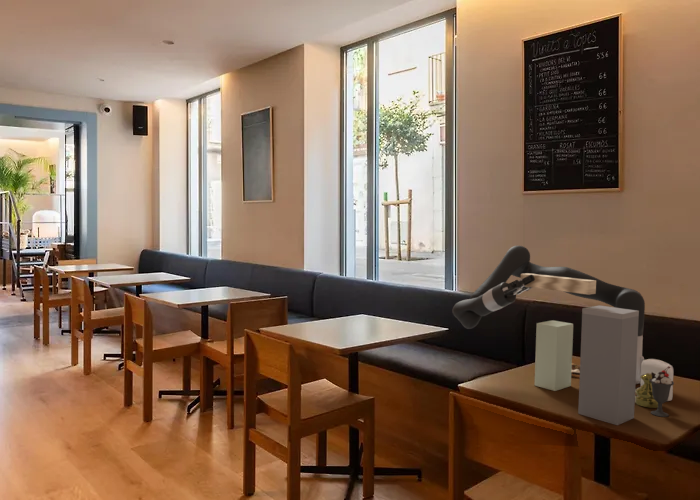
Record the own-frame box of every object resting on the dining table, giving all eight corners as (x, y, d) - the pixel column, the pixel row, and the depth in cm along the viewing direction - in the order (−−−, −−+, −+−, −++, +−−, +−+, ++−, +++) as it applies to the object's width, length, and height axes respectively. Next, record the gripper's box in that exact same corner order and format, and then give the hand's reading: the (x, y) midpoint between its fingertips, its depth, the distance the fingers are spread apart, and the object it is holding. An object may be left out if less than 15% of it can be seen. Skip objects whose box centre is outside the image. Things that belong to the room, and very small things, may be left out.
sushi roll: (595, 371, 226) (595, 361, 226) (597, 381, 212) (597, 370, 212) (554, 367, 231) (555, 357, 231) (553, 377, 217) (554, 366, 217)
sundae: (675, 418, 172) (678, 368, 172) (651, 416, 174) (653, 367, 173) (668, 411, 179) (670, 363, 178) (644, 409, 180) (646, 361, 179)
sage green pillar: (534, 385, 204) (536, 323, 203) (550, 380, 211) (552, 320, 209) (555, 391, 198) (557, 326, 197) (570, 385, 204) (573, 323, 203)
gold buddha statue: (660, 410, 180) (661, 378, 180) (633, 405, 184) (634, 374, 184) (661, 403, 186) (663, 372, 186) (636, 399, 190) (637, 369, 190)
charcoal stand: (578, 413, 176) (582, 308, 174) (595, 407, 182) (599, 305, 180) (617, 425, 166) (622, 314, 164) (633, 418, 173) (638, 310, 171)
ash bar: (520, 285, 194) (520, 273, 193) (527, 285, 196) (527, 273, 196) (588, 294, 175) (589, 281, 175) (595, 293, 178) (596, 280, 177)
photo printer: (637, 393, 197) (639, 357, 196) (646, 391, 199) (648, 355, 198) (665, 402, 188) (667, 364, 187) (674, 400, 190) (676, 363, 189)
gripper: (481, 288, 200) (520, 267, 188) (507, 285, 209) (545, 265, 197) (490, 309, 197) (529, 288, 185) (515, 305, 206) (554, 285, 194)
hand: (537, 276), depth 191 cm, fingers closed on ash bar, 4 cm apart
